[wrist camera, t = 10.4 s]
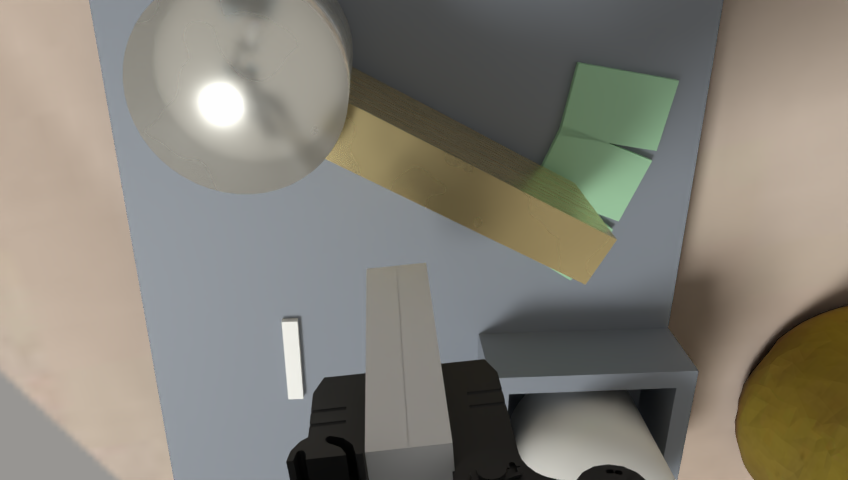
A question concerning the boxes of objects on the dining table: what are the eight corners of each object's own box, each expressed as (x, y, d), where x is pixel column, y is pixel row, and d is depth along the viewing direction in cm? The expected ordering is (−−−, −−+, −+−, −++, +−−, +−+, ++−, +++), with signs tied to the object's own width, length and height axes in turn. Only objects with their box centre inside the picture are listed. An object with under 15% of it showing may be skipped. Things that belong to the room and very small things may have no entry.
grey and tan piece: (152, 85, 20) (91, 136, 15) (218, -79, 18) (171, -73, 14) (520, 261, 23) (556, 346, 18) (603, 134, 21) (664, 194, 17)
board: (53, -306, 17) (-24, -358, 14) (750, -288, 18) (836, -332, 15) (185, 479, 27) (160, 560, 24) (631, 459, 28) (666, 534, 25)
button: (512, 374, 24) (542, 472, 20) (644, 369, 24) (701, 465, 20) (504, 479, 25) (530, 589, 21) (628, 473, 26) (677, 580, 22)
